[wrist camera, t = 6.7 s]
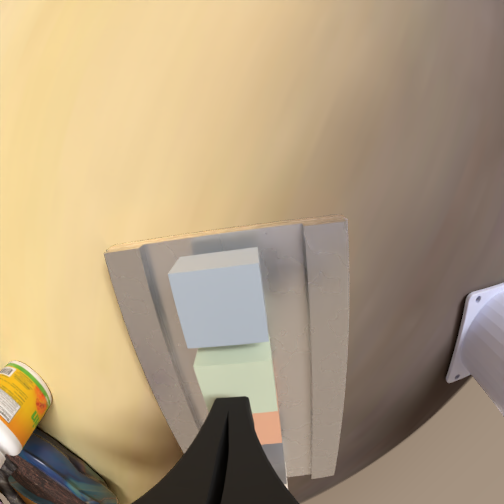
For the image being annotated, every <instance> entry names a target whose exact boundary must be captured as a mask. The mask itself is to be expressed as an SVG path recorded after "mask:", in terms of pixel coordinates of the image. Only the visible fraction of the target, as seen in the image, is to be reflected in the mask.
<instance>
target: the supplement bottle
mask: <svg viewBox="0 0 504 504" xmlns="http://www.w3.org/2000/svg"><path fill="white" fill-rule="evenodd" d="M51 402H52V397H51V393H50V391H49V389H48V387H47V385H46V384H45V382H44V381H43V379H42V378H41V377H40V376H39V375H38V374H37V373H36V372H35V371H34V370H33V369H31V368H30V367H29V366H27V365H26V364H24V363H22V362H19V361H11V362H9V363H8V364H7V365H6V366H5V367H4V368H3V369H2V370H1V371H0V468H1V467H2V465H3V463H4V461H5V460H6V458H5V454H8V455H11V456H16V455H18V454H19V453H20V452H21V450H22V449H23V447H24V446H25V444H26V442H27V441H28V439H29V437H30V436H31V434H32V433H33V431H34V429H35V428H36V426H37V425H38V423H39V422H40V420H41V419H42V417H43V416H44V414H45V412H46V411H47V410H48V408H49V406H50V405H51Z"/></svg>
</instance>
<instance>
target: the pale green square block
mask: <svg viewBox="0 0 504 504" xmlns="http://www.w3.org/2000/svg"><path fill="white" fill-rule="evenodd" d="M193 367H194V370H195V373H196V377H197V380H198V383H199V386H200V389H201V392H202V395H203V398H204V400H205V403H206V406H207V409H208V412H210V410H211V408H212V405H213V403H214V400H215V399H216V398H226V397H241V396H246V397H248V398H249V401H250V406H251V411H252V414H253V413H264V412H274V411H278V407H277V396H276V385H275V377H274V369H273V361H272V353H271V345H270V337H269V342H260V343H251V344H241V345H230V346H218V347H204V348H198V350H197V354H196V358H195V362H194V366H193Z"/></svg>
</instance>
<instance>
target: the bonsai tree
mask: <svg viewBox="0 0 504 504" xmlns="http://www.w3.org/2000/svg"><path fill="white" fill-rule="evenodd" d="M5 458H6V460H5V461H4V463H3V465H2V467H1V468H0V490H1V492H2V493H3V494H4V496H5V497H6V498H7V500H8V501H9V502H10V504H26V503H25V502H24V501H23V500H22V498H21V497H20V496H19V495H18V494H17V492H16V491H15V490H14V489H13V488H15V489H16V490H17V491H18V492H20V493H21V494H22V495H24V496H25V497H27V498H28V499H30V500H31V501H33V502H35V503H37V504H119V500H118V498H117V497H116V495H115V494H114V493H113V492H112V491H111V490H110V489H109V487H108V486H107V484H106V483H105V481H104V480H103V479H102V478H101V477H100V476H99V475H98V474H96V473H95V472H94V471H93V470H92V469H91V468H90V467H89V466H88V465H87V464H85V463H84V462H83V461H82V460H81V459H79V458H78V457H76V456H75V455H74V454H72V453H71V452H70V451H68V450H67V449H66V448H64V447H63V446H62V445H61V444H59V443H58V442H57V441H56V440H54V439H53V438H51V437H50V436H48V435H47V434H45V433H44V432H42V431H41V430H39V429H38V428H35V429H34V431H33V433H32V434H31V436H30V437H29V439H28V441H27V442H26V444H25V446H24V447H23V449H22V450H21V452H20V453H19V454H18V455H16V456H11V455H8V454H5ZM10 484H11V485H12V486H13V487H12V486H11V485H10ZM0 504H3V502H2V501H1V499H0Z"/></svg>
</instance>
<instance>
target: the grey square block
mask: <svg viewBox="0 0 504 504" xmlns="http://www.w3.org/2000/svg"><path fill="white" fill-rule="evenodd" d="M168 277H169V281H170V285H171V289H172V293H173V297H174V301H175V305H176V309H177V312H178V316H179V320H180V323H181V327H182V330H183V334H184V337H185V341H186V344H187V348H204V347H218V346H230V345H241V344H251V343H260V342H269V335H268V323H267V313H266V306H265V298H264V290H263V282H262V275H261V267H260V260H259V252H258V247H254V248H246V249H238V250H230V251H222V252H214V253H206V254H199V255H191V256H183V257H179V259H178V260H177V262H176V263H175V264H174V266H173V267H172V269H171V270H170V272H169V273H168Z"/></svg>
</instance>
